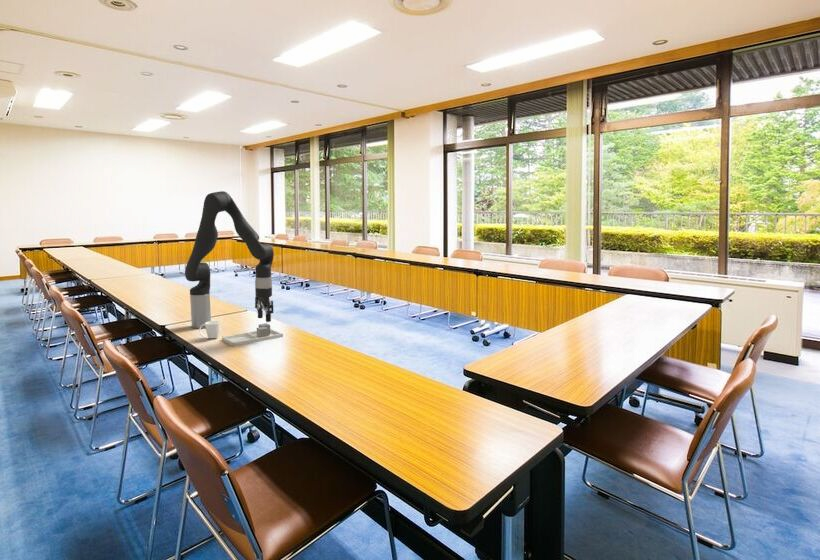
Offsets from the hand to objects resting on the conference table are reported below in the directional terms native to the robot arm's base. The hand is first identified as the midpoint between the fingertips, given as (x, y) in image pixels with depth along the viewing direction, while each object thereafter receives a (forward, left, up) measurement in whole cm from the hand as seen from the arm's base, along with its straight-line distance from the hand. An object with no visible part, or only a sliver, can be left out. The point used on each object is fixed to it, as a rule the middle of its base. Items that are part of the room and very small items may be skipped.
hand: (264, 319), depth 220 cm
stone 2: (+2, -2, -8) cm, 9 cm away
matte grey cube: (-4, +2, -8) cm, 9 cm away
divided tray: (-1, -5, -9) cm, 10 cm away
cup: (-14, -20, -9) cm, 27 cm away
